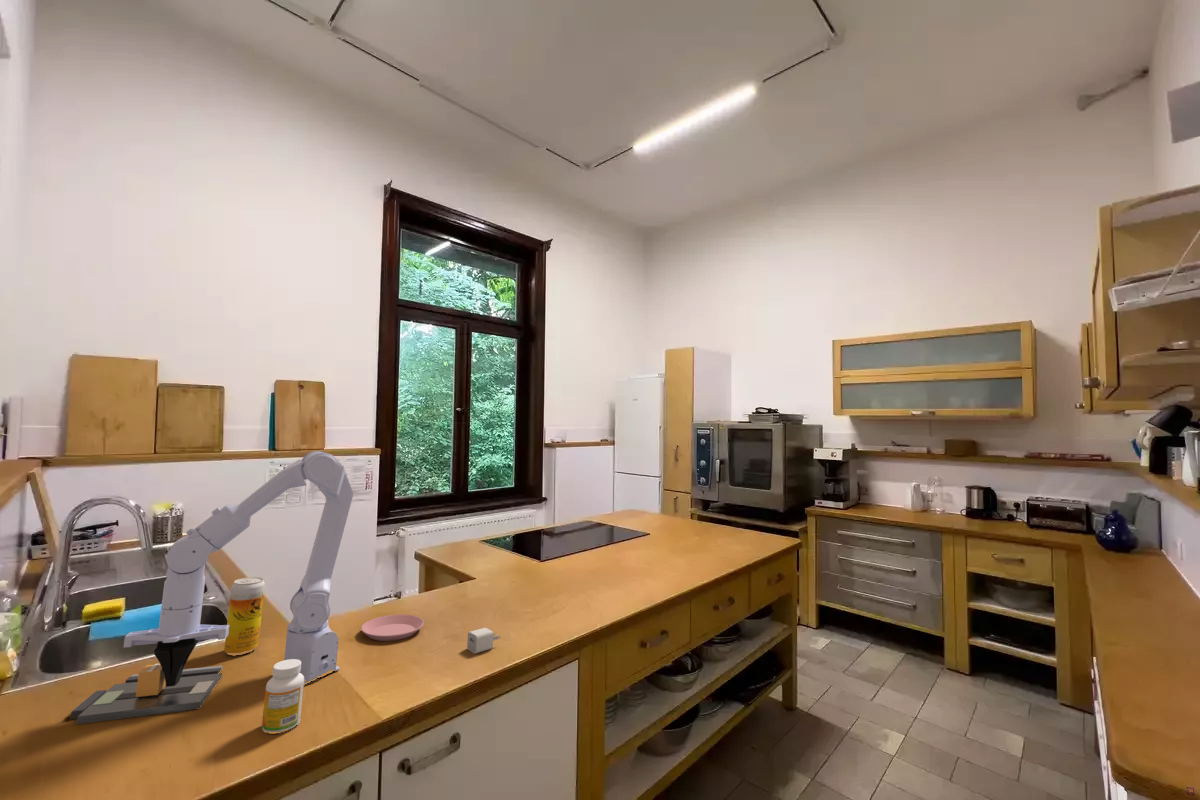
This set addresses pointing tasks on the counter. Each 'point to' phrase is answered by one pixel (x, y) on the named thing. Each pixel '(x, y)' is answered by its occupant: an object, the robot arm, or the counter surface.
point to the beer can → (245, 614)
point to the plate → (392, 627)
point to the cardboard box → (150, 680)
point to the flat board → (134, 678)
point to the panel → (150, 699)
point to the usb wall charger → (480, 640)
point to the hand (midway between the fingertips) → (172, 683)
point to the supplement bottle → (283, 697)
